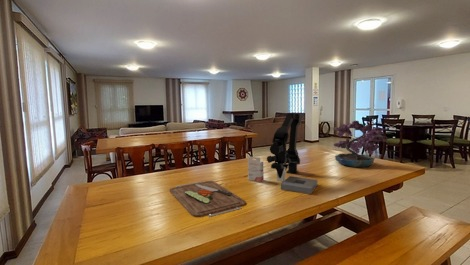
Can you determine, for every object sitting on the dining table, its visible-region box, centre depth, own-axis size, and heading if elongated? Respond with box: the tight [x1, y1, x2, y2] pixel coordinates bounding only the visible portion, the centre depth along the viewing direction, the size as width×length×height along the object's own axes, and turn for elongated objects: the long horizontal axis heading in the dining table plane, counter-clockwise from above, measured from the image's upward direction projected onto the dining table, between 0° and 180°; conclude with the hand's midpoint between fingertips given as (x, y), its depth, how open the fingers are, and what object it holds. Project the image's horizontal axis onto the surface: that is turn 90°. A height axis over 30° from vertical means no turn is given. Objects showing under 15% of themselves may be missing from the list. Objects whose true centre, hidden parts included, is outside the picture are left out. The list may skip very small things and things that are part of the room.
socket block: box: [280, 175, 318, 195], centre depth 140 cm, size 16×16×3 cm
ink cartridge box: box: [247, 156, 265, 183], centre depth 153 cm, size 9×5×15 cm, turn 62°
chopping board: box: [168, 180, 247, 218], centre depth 129 cm, size 45×27×3 cm, turn 30°
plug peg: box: [276, 167, 287, 183], centre depth 152 cm, size 4×4×8 cm
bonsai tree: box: [333, 120, 388, 168], centre depth 183 cm, size 35×27×33 cm
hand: (281, 177), depth 152 cm, fingers closed on plug peg, 4 cm apart
